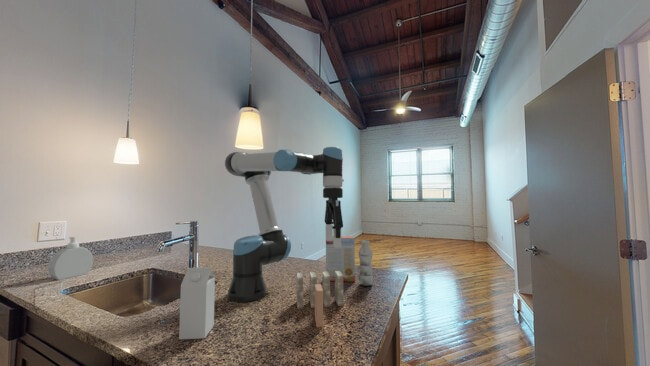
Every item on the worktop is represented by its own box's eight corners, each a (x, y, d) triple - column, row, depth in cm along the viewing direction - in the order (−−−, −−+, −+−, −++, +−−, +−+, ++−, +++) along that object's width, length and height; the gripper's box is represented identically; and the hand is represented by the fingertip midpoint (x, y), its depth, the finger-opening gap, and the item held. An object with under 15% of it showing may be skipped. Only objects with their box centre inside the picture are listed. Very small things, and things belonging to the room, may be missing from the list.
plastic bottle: (374, 283, 116) (374, 240, 118) (371, 288, 110) (370, 242, 112) (361, 281, 119) (360, 239, 120) (357, 286, 113) (356, 241, 114)
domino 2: (311, 307, 91) (311, 277, 92) (309, 301, 97) (309, 272, 98) (316, 307, 91) (316, 276, 92) (314, 300, 97) (314, 272, 98)
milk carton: (190, 327, 78) (192, 264, 79) (213, 326, 78) (215, 264, 79) (178, 340, 70) (181, 271, 72) (204, 339, 71) (206, 270, 72)
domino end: (316, 327, 77) (316, 290, 78) (314, 318, 83) (314, 284, 84) (323, 326, 78) (323, 290, 78) (320, 317, 84) (320, 284, 84)
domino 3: (324, 306, 92) (324, 276, 92) (322, 300, 98) (322, 271, 98) (330, 306, 92) (330, 276, 93) (327, 300, 98) (327, 271, 99)
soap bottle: (86, 271, 137) (88, 234, 138) (93, 272, 135) (94, 235, 136) (46, 280, 122) (49, 239, 123) (52, 281, 120) (55, 239, 121)
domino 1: (297, 308, 90) (297, 277, 91) (296, 301, 96) (296, 272, 97) (302, 308, 91) (303, 277, 91) (302, 301, 97) (302, 272, 97)
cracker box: (354, 278, 125) (354, 235, 126) (355, 282, 119) (354, 237, 120) (326, 277, 126) (326, 235, 127) (325, 281, 120) (325, 237, 121)
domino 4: (338, 306, 93) (337, 275, 93) (335, 299, 98) (335, 271, 99) (343, 305, 93) (343, 275, 93) (340, 299, 99) (340, 270, 99)
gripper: (351, 186, 84) (352, 250, 83) (334, 188, 109) (334, 238, 108) (330, 186, 83) (330, 250, 82) (317, 188, 107) (317, 238, 106)
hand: (332, 243), depth 95 cm, fingers open, 13 cm apart
